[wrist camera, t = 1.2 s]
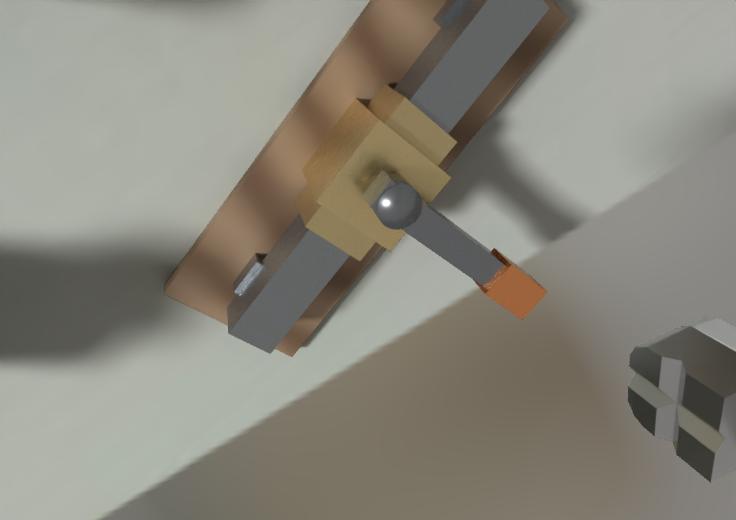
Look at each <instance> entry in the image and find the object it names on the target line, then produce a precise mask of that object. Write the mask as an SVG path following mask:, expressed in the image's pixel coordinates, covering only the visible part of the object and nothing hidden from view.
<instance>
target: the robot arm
mask: <svg viewBox="0 0 736 520" xmlns="http://www.w3.org/2000/svg"><path fill="white" fill-rule="evenodd" d="M629 367H630V368H631V369H633V371H634V372H635V375H634V376H633V378H632V380H631V382H630V383H629V385H628V403H629V405H630V407H631V409H632V412H633V414H634V416H635V417H636V419H637V420H638V421H639V422H640V424H641V425H642V426H643V427H644V428H645V429H646V430H647V431H649V432H650V433H651V434H652V435H653V436H655V437H658V438H661V439H664V440H668V441H671V442H673V445H674V448H675V452H676V455H677V456H679V457H680V458H681V459H682V460H684V461H685V462H686V463H687V464H688V465H690V466H691V467H692V468H694V469H695V470H696V471H697V472H698V473H700V474H701V475H702V476H703V477H704V478H706V479H707V480H708V481H709V482H710V483H711V482H713V481H715V480H717V479H719V478H721V477H723V476H725V475H727V474H729V473H731V472H733V471H735V470H736V328H735V327H733V326H731V325H729V324H728V323H726V322H724V321H722V320H720V319H718V318H715V317H711V316H703V317H701V318H699V319H697V320H694V321H692V322H690V323H688V324H685V325H683V326H681V327H680V328H676V329H673V330H671V331H669V332H667V333H665V334H663V335H660V336H658V337H656V338H654V339H652V340H649V341H647V342H645V343H643V344H641V345H638V346H636V347H635V348H634V349H633V351H632V352H631V354H630V361H629Z"/></svg>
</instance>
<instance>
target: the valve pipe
mask: <svg viewBox="0 0 736 520" xmlns="http://www.w3.org/2000/svg"><path fill="white" fill-rule="evenodd" d="M549 9H550V8H549V6H548V5H547V4H546V3H545V2H544V1H543V0H447V1H446V2H445V4H444V5H443V6H442V8H441V9H440V10H439V12H438V13H437V14H436V16H435V17H434V18H433V20H434V21H435V22H436V23H437V24H438V25H439V26H440V27H441V28H440V30H439V31H438V32H437V33H436V35H435V36H434V37H433V39H432V40H431V41H430V43H429V44H428V45H427V47H426V48H425V49H424V50H423V52H422V53H421V54H420V56H419V57H418V58H417V60H416V61H415V62H414V63H413V65H412V66H411V67H410V69H409V70H408V71H407V73H406V74H405V75H404V77H403V78H402V79H401V80H400V82H399V83H398V84H397V86H396V87H395V88H394V90H393V89H392V88H390V87H389V86H387V85H386V84H383V86H382V87H381V88H380V89H379V91H378V92H377V93H376V95H375V96H374V97H373V99H372V100H371V101H370V103H369V104H368V105H367V107H366V106H365V105H363V104H362V103H361V102H360V101H359V100H357V99H356V98H355V100H354V101H353V102H352V104H351V105H350V106H349V108H348V109H347V110H346V112H345V113H344V114H343V116H342V117H341V118H340V120H339V121H338V122H337V124H336V125H335V126H334V128H333V129H332V130H331V132H330V133H329V134H328V136H327V137H326V138H325V140H324V141H323V142H322V144H321V145H320V146H319V148H318V149H317V150H316V152H315V153H314V154H313V156H312V157H311V158H310V160H309V161H308V162H307V164H306V165H305V166H304V168H303V169H302V172H303V175H304V177H305V179H306V181H307V183H308V184H307V186H306V187H305V188H304V190H303V191H302V192H301V194H300V195H299V196H298V197H297V199H296V200H295V201H296V204H297V206H298V209H299V214H298V215H297V216H296V218H295V219H294V220H293V221H292V223H291V224H290V225H289V227H288V228H287V229H286V231H285V232H284V233H283V235H282V236H281V237H280V238H279V240H278V241H277V242H276V244H275V245H274V246H273V248H272V249H271V250H270V252H269V253H268V254H267V255H266V257H265V258H263V257H261V256H259V255H258V254H256V253H255V254H254V255H253V257H252V258H251V259H250V261H249V262H248V263H247V265H246V266H245V267H244V269H243V270H242V271H241V272H240V274H239V275H238V276H237V278H236V279H235V280H234V282H233V289H234V293H236V294H237V295H236V296H235V297H234V299H233V300H232V301H231V302H230V304H229V305H228V306H227V317H228V334H231V335H233V336H235V337H237V338H239V339H241V340H243V341H245V342H247V343H249V344H251V345H253V346H255V347H257V348H259V349H261V350H264V351H266V352H268V353H270V354H271V352H272V351H273V350H274V349H275V348H276V346H277V345H278V344H279V343H280V341H281V340H282V339H283V338H284V336H285V335H286V334H287V333H288V331H289V330H290V329H291V328H292V326H293V325H294V324H295V323H296V322H297V320H298V319H299V318H300V317H301V315H302V314H303V313H304V312H305V310H306V309H307V308H308V307H309V305H310V304H311V303H312V302H313V301H314V299H315V298H316V297H317V296H318V294H319V293H320V292H321V291H322V289H323V288H324V287H325V286H326V284H327V283H328V282H329V281H330V280H331V278H332V277H333V276H334V275H335V273H336V272H337V271H338V270H339V268H340V267H341V266H342V265H343V263H344V262H345V261H346V260H347V258H348V257H349V256H350V255H351V256H352V257H354V258H355V259H357V260H359V261H361V260H362V258H363V257H364V256H365V255H366V253H367V252H368V251H369V250H370V249H371V247H372V246H373V245H374V244H375V242H377V243H378V244H380V245H381V246H383V247H384V248H386V249H387V250H389V251H391V250H392V249H393V248H394V246H395V245H396V244H397V243H398V242H399V240H400V239H401V238H402V237H403V236H404V234H405V233H406V232H405V231H403V230H402V229H399V230H395V229H390V228H387V227H386V226H384V225H383V224H382V223H381V221H380V220H379V218H378V217H377V215H376V214H375V212H374V211H373V210H372V208H371V207H370V206H369V205H368V203H367V202H366V200H365V199H364V197H363V196H362V195H363V194H364V192H365V191H366V190H367V189H368V187H369V186H370V185H371V184H372V182H373V181H374V180H375V179H376V177H377V176H378V175H379V173H380V172H381V171H382V170H383V171H385V172H386V173H387V174H398V175H400V176H402V177H404V178H405V179H406V180H407V181H408V182H409V183H410V184H411V185H412V187H413V188H414V189H415V190H416V191H417V192H418V193H419V195H420V197H421V199H422V200H423V201H425V202H426V203H427V204H430V203H431V202H432V201H433V199H434V198H435V197H436V196H437V195H438V193H439V192H440V191H441V190H442V188H443V187H444V186H445V185H446V184H447V182H448V181H449V180H450V179H451V177H450V176H449V175H448V174H447V173H446V172H445V171H443V170H442V169H441V168H440V167H439V166H438V165H439V164H440V163H441V162H442V160H443V159H444V158H445V157H446V155H447V154H448V153H449V152H450V151H451V149H452V148H453V147H454V146H455V144H456V143H457V141H456V140H454V139H453V138H452V137H451V136H450V135H449V132H450V131H451V130H452V129H453V127H454V126H455V125H456V124H457V122H458V121H459V120H460V119H461V118H462V116H463V115H464V114H465V113H466V111H467V110H468V109H469V108H470V106H471V105H472V104H473V103H474V101H475V100H476V99H477V98H478V96H479V95H480V94H481V93H482V92H483V90H484V89H485V88H486V87H487V85H488V84H489V83H490V82H491V80H492V79H493V78H494V77H495V75H496V74H497V73H498V72H499V71H500V69H501V68H502V67H503V66H504V64H505V63H506V62H507V61H508V59H509V58H510V57H511V56H512V54H513V53H514V52H515V51H516V49H517V48H518V47H519V46H520V45H521V43H522V42H523V41H524V40H525V38H526V37H527V36H528V35H529V33H530V32H531V31H532V30H533V28H534V27H535V26H536V25H537V24H538V22H539V21H540V20H541V19H542V17H543V16H544V15H545V14H546V12H547V11H548V10H549Z"/></svg>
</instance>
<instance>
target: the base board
mask: <svg viewBox="0 0 736 520" xmlns="http://www.w3.org/2000/svg"><path fill="white" fill-rule="evenodd" d="M446 1H447V0H371V1H370V2H369V3H368V5H367V6H366V7H365V9H364V10H363V12H362V13H361V14H360V16H359V17H358V18H357V20H356V21H355V23H354V24H353V25H352V27H351V28H350V30H349V31H348V32H347V34H346V35H345V36H344V38H343V39H342V41H341V42H340V43H339V45H338V46H337V47H336V49H335V50H334V52H333V53H332V54H331V56H330V57H329V58H328V60H327V61H326V63H325V64H324V65H323V67H322V68H321V70H320V71H319V72H318V74H317V75H316V76H315V78H314V79H313V81H312V82H311V83H310V85H309V86H308V87H307V89H306V90H305V92H304V93H303V94H302V96H301V97H300V99H299V100H298V101H297V103H296V104H295V105H294V107H293V108H292V110H291V111H290V112H289V114H288V115H287V116H286V118H285V119H284V121H283V122H282V123H281V125H280V126H279V127H278V129H277V130H276V132H275V133H274V134H273V136H272V137H271V139H270V140H269V141H268V143H267V144H266V145H265V147H264V148H263V150H262V151H261V152H260V154H259V155H258V156H257V158H256V159H255V161H254V162H253V163H252V165H251V166H250V168H249V169H248V170H247V172H246V173H245V174H244V176H243V177H242V179H241V180H240V181H239V183H238V184H237V185H236V187H235V188H234V190H233V191H232V192H231V194H230V195H229V196H228V198H227V199H226V201H225V202H224V203H223V205H222V206H221V208H220V209H219V210H218V212H217V213H216V214H215V216H214V217H213V219H212V220H211V221H210V223H209V224H208V225H207V227H206V228H205V230H204V231H203V232H202V234H201V235H200V237H199V238H198V239H197V241H196V242H195V243H194V245H193V246H192V248H191V249H190V250H189V252H188V253H187V254H186V256H185V257H184V259H183V260H182V261H181V263H180V264H179V265H178V267H177V268H176V270H175V271H174V272H173V274H172V275H171V277H170V278H169V279H168V281H167V282H166V283H165V287H164V294H165V295H167V296H169V297H171V298H173V299H175V300H177V301H179V302H181V303H183V304H185V305H187V306H189V307H191V308H193V309H195V310H197V311H199V312H201V313H204V314H206V315H208V316H210V317H212V318H214V319H216V320H218V321H220V322H222V323H224V324H226V325H228V317H227V306H228V305H229V304H230V302H231V301H232V300H233V299H234V297H235V296H236V295H237V294H236V293H234V289H233V282H234V280H235V279H236V278H237V276H238V275H239V274H240V272H241V271H242V270H243V269H244V267H245V266H246V265H247V263H248V262H249V261H250V259H251V258H252V257H253V255H254V254H255V253H256V254H258V255H259V256H261V257H263V258H265V257H266V255H267V254H268V253H269V252H270V250H271V249H272V248H273V246H274V245H275V244H276V242H277V241H278V240H279V238H280V237H281V236H282V235H283V233H284V232H285V231H286V229H287V228H288V227H289V225H290V224H291V223H292V221H293V220H294V219H295V218H296V216H297V215H298V214H299V209H298V206H297V204H296V201H295V200H296V199H297V197H298V196H299V195H300V194H301V192H302V191H303V190H304V188H305V187H306V186H307V184H308V183H307V181H306V179H305V177H304V175H303V172H302V169H303V168H304V166H305V165H306V164H307V162H308V161H309V160H310V158H311V157H312V156H313V154H314V153H315V152H316V150H317V149H318V148H319V146H320V145H321V144H322V142H323V141H324V140H325V138H326V137H327V136H328V134H329V133H330V132H331V130H332V129H333V128H334V126H335V125H336V124H337V122H338V121H339V120H340V118H341V117H342V116H343V114H344V113H345V112H346V110H347V109H348V108H349V106H350V105H351V104H352V102H353V101H354V100H355V98H356V99H357V100H359V101H360V102H361V103H362V104H363V105H365V106H366V107H367V105H368V104H369V103H370V101H371V100H372V99H373V97H374V96H375V95H376V93H377V92H378V91H379V89H380V88H381V87H382V86H383V84H386V85H387V86H389V87H390V88H392V89H393V90H394V88H395V87H396V86H397V84H398V83H399V82H400V80H401V79H402V78H403V77H404V75H405V74H406V73H407V71H408V70H409V69H410V67H411V66H412V65H413V63H414V62H415V61H416V60H417V58H418V57H419V56H420V54H421V53H422V52H423V50H424V49H425V48H426V47H427V45H428V44H429V43H430V41H431V40H432V39H433V37H434V36H435V35H436V33H437V32H438V31H439V30H440V28H441V27H440V26H439V25H438V24H437V23H436V22H435V21H434V20H433V18H434V17H435V16H436V14H437V13H438V12H439V10H440V9H441V8H442V6H443V5H444V4H445V2H446ZM543 1H544V2H545V3H546V4H547V5H548V6H549V8H550V9H549V10H548V11H547V12H546V14H545V15H544V16H543V17H542V19H541V20H540V21H539V22H538V24H537V25H536V26H535V27H534V28H533V30H532V31H531V32H530V33H529V35H528V36H527V37H526V38H525V40H524V41H523V42H522V43H521V45H520V46H519V47H518V48H517V49H516V51H515V52H514V53H513V54H512V56H511V57H510V58H509V59H508V61H507V62H506V63H505V64H504V66H503V67H502V68H501V69H500V71H499V72H498V73H497V74H496V75H495V77H494V78H493V79H492V80H491V82H490V83H489V84H488V85H487V87H486V88H485V89H484V90H483V92H482V93H481V94H480V95H479V96H478V98H477V99H476V100H475V101H474V103H473V104H472V105H471V106H470V108H469V109H468V110H467V111H466V113H465V114H464V115H463V116H462V118H461V119H460V120H459V121H458V122H457V124H456V125H455V126H454V127H453V129H452V130H451V131H450V132H449V135H450V136H451V137H452V138H453V139H454V140H456V141H457V143H456V144H455V146H454V147H453V148H452V149H451V151H450V152H449V153H448V154H447V155H446V157H445V158H444V159H443V160H442V162H441V163H440V164H439V165H438V166H439V167H440V168H441V169H442V170H443V171H445V170H446V169H447V168H448V167H449V165H450V164H451V163H452V162H453V161H454V159H455V158H456V157H457V156H458V154H459V153H460V152H461V151H462V150H463V148H464V147H465V146H466V145H467V143H468V142H469V141H470V140H471V139H472V137H473V136H474V135H475V134H476V133H477V131H478V130H479V129H480V128H481V126H482V125H483V124H484V123H485V122H486V120H487V119H488V118H489V117H490V115H491V114H492V113H493V112H494V111H495V109H496V108H497V107H498V106H499V105H500V103H501V102H502V101H503V100H504V98H505V97H506V96H507V95H508V94H509V92H510V91H511V90H512V89H513V87H514V86H515V85H516V84H517V83H518V81H519V80H520V79H521V78H522V77H523V75H524V74H525V73H526V72H527V70H528V69H529V68H530V67H531V66H532V64H533V63H534V62H535V61H536V59H537V58H538V57H539V56H540V55H541V53H542V52H543V51H544V50H545V49H546V47H547V46H548V45H549V44H550V42H551V41H552V40H553V39H554V38H555V36H556V35H557V34H558V33H559V32H560V30H561V29H562V28H563V27H564V25H565V24H566V23H567V22H568V21H569V19H568V18H567V17H566V16H565V15H564V13H563V12H562V11H561V10H560V9H559V8H558V7H557V5H556V4H555V3H554V2H553V1H552V0H543ZM382 247H383V246H381V245H380V244H378V243H377V242H375V244H374V245H373V246H372V247H371V249H370V250H369V251H368V252H367V253H366V255H365V256H364V257H363V258H362V260H361V261H359V260H357V259H355V258H354V257H352V256H351V255H350V256H349V257H348V258H347V260H346V261H345V262H344V263H343V265H342V266H341V267H340V268H339V270H338V271H337V272H336V273H335V275H334V276H333V277H332V278H331V280H330V281H329V282H328V283H327V284H326V286H325V287H324V288H323V289H322V291H321V292H320V293H319V294H318V296H317V297H316V298H315V299H314V301H313V302H312V303H311V304H310V305H309V307H308V308H307V309H306V310H305V312H304V313H303V314H302V315H301V317H300V318H299V319H298V320H297V322H296V323H295V324H294V325H293V326H292V328H291V329H290V330H289V331H288V333H287V334H286V335H285V336H284V338H283V339H282V340H281V341H280V343H279V344H278V345H277V346H276V348H275V349H277V350H279V351H281V352H283V353H285V354H287V355H289V356H291V357H292V356H293V355H294V354H295V353H296V352H297V350H298V349H299V348H300V347H301V345H302V344H303V343H304V342H305V341H306V339H307V338H308V337H309V336H310V335H311V333H312V332H313V331H314V330H315V328H316V327H317V326H318V325H319V324H320V322H321V321H322V320H323V319H324V317H325V316H326V315H327V314H328V313H329V311H330V310H331V309H332V308H333V307H334V305H335V304H336V303H337V302H338V300H339V299H340V298H341V297H342V296H343V294H344V293H345V292H346V291H347V290H348V288H349V287H350V286H351V285H352V283H353V282H354V281H355V280H356V279H357V277H358V276H359V275H360V274H361V272H362V271H363V270H364V269H365V268H366V266H367V265H368V264H369V263H370V262H371V260H372V259H373V258H374V257H375V255H376V254H377V253H378V252H379V251H380V249H381V248H382Z"/></svg>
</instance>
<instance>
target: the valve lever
mask: <svg viewBox="0 0 736 520" xmlns="http://www.w3.org/2000/svg"><path fill="white" fill-rule="evenodd" d="M362 196H363V197H364V199H365V200H366V202H367V203H368V205H369V206H370V207H371V208H372V210H373V211H374V212H375V214H376V215H377V217H378V218H379V220H380V221H381V223H382V224H383V225H384V226H386V227H387V228H390V229H395V230H399V229H402V230H403V231H405V232H406V233H408V234H409V235H411V236H412V237H413V238H415V239H416V240H418V241H419V242H421V243H422V244H423V245H425V246H426V247H428V248H429V249H431V250H432V251H433V252H435V253H436V254H438V255H439V256H441V257H442V258H443V259H445V260H446V261H448V262H449V263H451V264H452V265H453V266H455V267H456V268H458V269H459V270H461V271H462V272H463V273H465V274H466V275H468V276H469V277H471V278H472V279H473V280H474V281H475V282H476V284H477V285H478V286H479V287H480V288H481V290H482V291H483V292H484V293H485V294H486V295H487V296H489V297H490V298H492V299H493V300H495V301H496V302H497V303H499V304H500V305H502V306H503V307H505V308H506V309H508V310H509V311H510V312H512V313H513V314H515V315H516V316H518V317H519V318H521V319H524V318H525V316H526V315H527V314H528V313H529V312H530V311H531V310H532V309H533V308H534V307H535V306H536V304H537V303H538V302H539V301H540V300H541V299H542V298H543V297H544V296H545V295H546V294H547V293H548V292H547V291H546V290H545V289H544V288H543V287H541V285H540V284H538V283H537V281H536V280H535V279H534V278H532V277H531V276H530V275H529V274H528V273H527V272H525V271H524V270H523V269H521V268H520V267H519V266H517V265H516V264H515V263H514V262H512V261H511V260H510V259H508V258H507V257H506V256H504V255H503V254H502V253H500V252H499V251H498V250H496V249H495V248H494V249H493V250H492V251H490V250H489V249H487V248H486V247H485V246H483V245H482V244H481V243H479V242H478V241H477V240H475V239H474V238H473V237H471V236H470V235H469V234H467V233H466V232H465V231H463V230H462V229H461V228H459V227H458V226H457V225H455V224H454V223H453V222H451V221H450V220H449V219H447V218H446V217H445V216H443V215H442V214H441V213H439V212H438V211H437V210H435V209H434V208H433V207H431V206H430V205H429V204H427V203H426V202H425V201H423V200H422V199H421V197H420V195H419V193H418V192H417V191H416V190H415V189H414V188H413V187H412V185H411V184H410V183H409V182H408V181H407V180H406V179H405V178H404V177H402V176H400V175H398V174H387V173H386V172H385V171H383V170H382V171H381V172H380V173H379V175H378V176H377V177H376V179H375V180H374V181H373V182H372V184H371V185H370V186H369V187H368V189H367V190H366V191H365V192H364V194H363V195H362Z"/></svg>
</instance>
